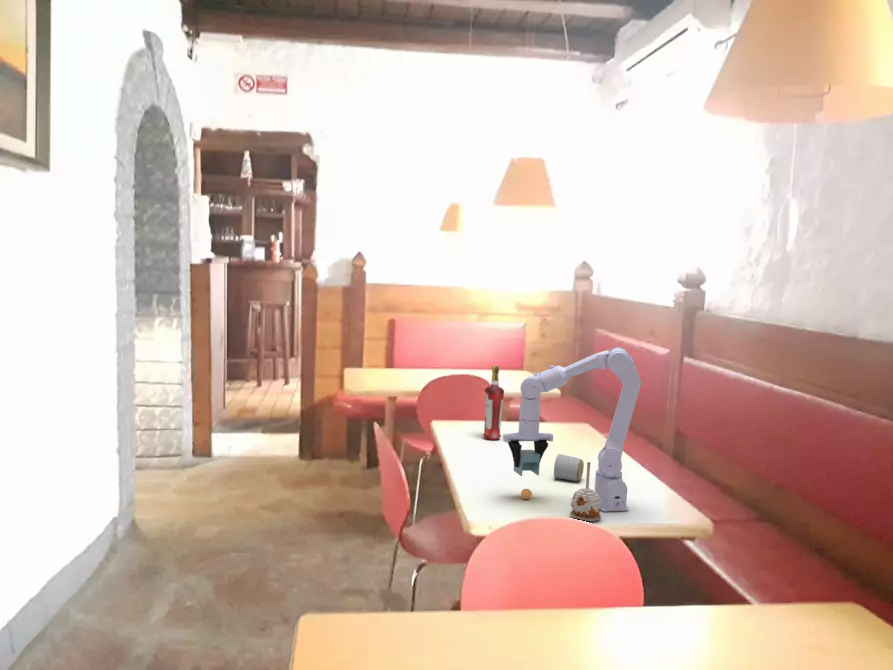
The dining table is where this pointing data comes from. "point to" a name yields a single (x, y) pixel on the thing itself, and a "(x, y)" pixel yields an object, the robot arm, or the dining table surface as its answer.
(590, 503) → the caramel apple
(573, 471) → the ceramic mug
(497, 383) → the liquor
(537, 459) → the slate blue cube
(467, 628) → the dining table surface
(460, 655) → the dining table surface
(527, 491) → the orange ball
